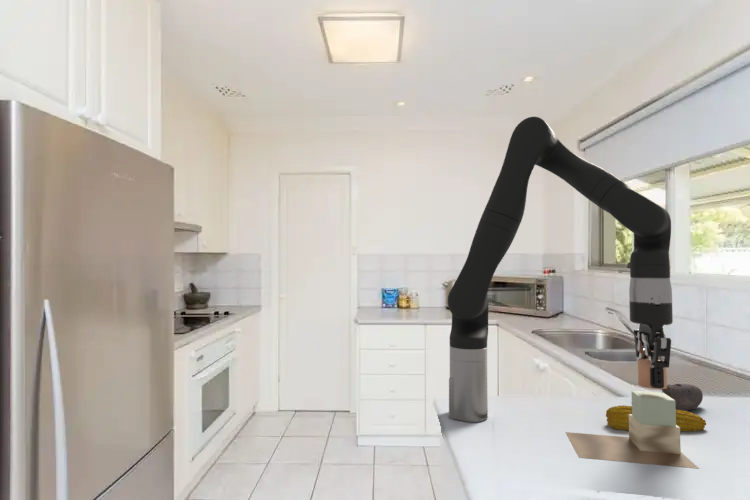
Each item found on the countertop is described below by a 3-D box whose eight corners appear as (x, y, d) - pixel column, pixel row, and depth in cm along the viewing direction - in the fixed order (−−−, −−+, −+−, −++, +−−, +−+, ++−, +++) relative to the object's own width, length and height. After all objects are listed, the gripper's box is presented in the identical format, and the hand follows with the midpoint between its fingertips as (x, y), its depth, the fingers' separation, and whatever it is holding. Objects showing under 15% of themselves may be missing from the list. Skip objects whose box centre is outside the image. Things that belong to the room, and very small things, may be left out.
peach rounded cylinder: (643, 388, 91) (642, 362, 91) (634, 382, 95) (634, 358, 96) (671, 389, 89) (670, 364, 90) (661, 383, 94) (660, 359, 95)
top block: (641, 424, 90) (641, 398, 90) (632, 414, 96) (631, 390, 96) (676, 426, 88) (675, 400, 89) (663, 417, 94) (663, 392, 95)
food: (615, 436, 100) (614, 409, 100) (603, 428, 106) (602, 402, 106) (712, 437, 100) (711, 410, 100) (694, 429, 105) (694, 403, 106)
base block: (640, 450, 89) (639, 424, 89) (629, 437, 96) (628, 413, 96) (680, 454, 88) (679, 427, 88) (666, 441, 94) (665, 416, 95)
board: (579, 462, 86) (578, 457, 86) (565, 436, 99) (565, 432, 99) (699, 474, 81) (699, 468, 81) (668, 445, 95) (667, 440, 95)
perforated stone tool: (692, 404, 125) (691, 378, 125) (712, 409, 120) (711, 383, 120) (654, 410, 119) (653, 383, 120) (673, 416, 115) (673, 388, 115)
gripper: (619, 297, 101) (621, 375, 100) (642, 301, 87) (643, 392, 86) (657, 298, 99) (659, 377, 99) (686, 302, 85) (688, 394, 85)
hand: (652, 383), depth 92 cm, fingers closed on peach rounded cylinder, 4 cm apart
